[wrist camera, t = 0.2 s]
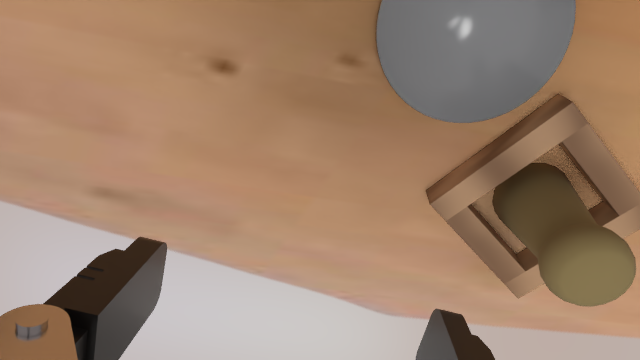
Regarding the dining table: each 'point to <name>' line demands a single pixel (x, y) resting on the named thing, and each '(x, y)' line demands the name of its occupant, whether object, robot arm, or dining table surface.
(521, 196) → the cork
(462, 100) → the slate coaster
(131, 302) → the robot arm
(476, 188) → the holder board
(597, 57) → the dining table surface
